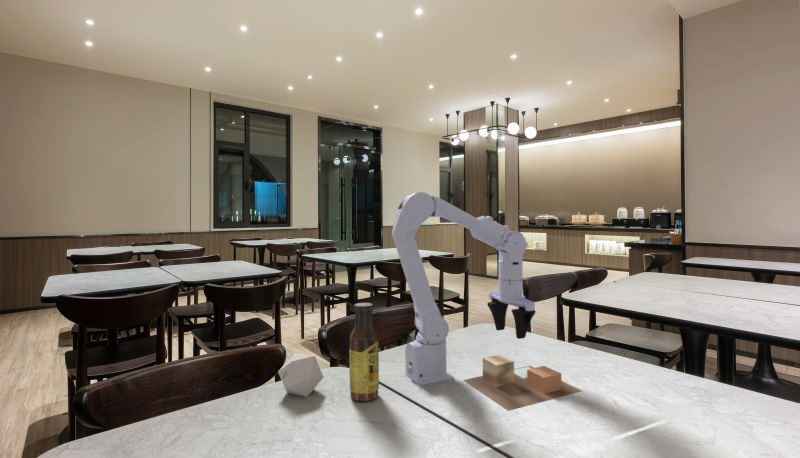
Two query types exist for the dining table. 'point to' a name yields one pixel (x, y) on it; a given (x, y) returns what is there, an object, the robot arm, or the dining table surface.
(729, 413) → the dining table surface
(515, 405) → the build board
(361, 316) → the sauce bottle
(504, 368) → the maple block
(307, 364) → the die
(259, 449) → the dining table surface
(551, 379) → the terracotta base block
